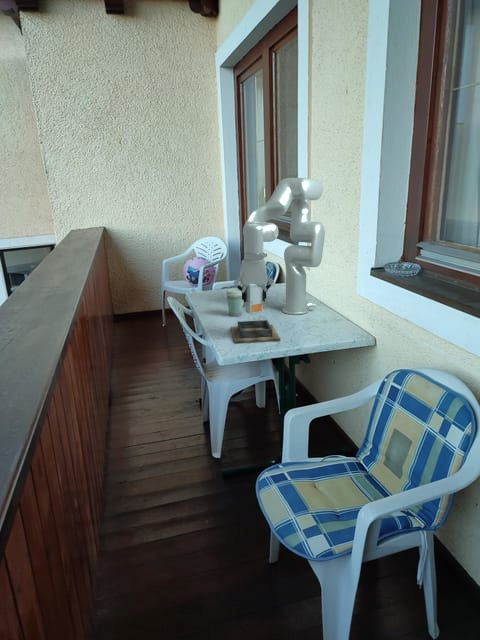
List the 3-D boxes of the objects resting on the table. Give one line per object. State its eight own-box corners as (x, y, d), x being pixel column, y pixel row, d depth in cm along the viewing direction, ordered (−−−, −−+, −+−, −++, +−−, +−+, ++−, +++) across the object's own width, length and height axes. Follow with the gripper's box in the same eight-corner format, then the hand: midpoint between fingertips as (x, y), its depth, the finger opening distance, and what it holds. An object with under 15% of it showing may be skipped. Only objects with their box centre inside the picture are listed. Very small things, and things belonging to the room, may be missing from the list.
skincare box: (250, 314, 175) (249, 285, 171) (245, 311, 179) (244, 282, 175) (263, 312, 178) (263, 283, 174) (258, 309, 181) (257, 281, 178)
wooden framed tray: (272, 326, 191) (272, 317, 189) (280, 341, 173) (280, 331, 172) (230, 328, 189) (230, 320, 188) (234, 343, 172) (234, 333, 171)
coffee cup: (242, 318, 203) (242, 292, 200) (224, 317, 205) (224, 292, 201) (246, 312, 211) (245, 288, 208) (228, 312, 213) (228, 287, 209)
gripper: (274, 254, 176) (273, 297, 181) (230, 256, 174) (231, 299, 179) (277, 257, 169) (277, 302, 174) (232, 259, 167) (233, 304, 172)
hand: (254, 300), depth 177 cm, fingers closed on skincare box, 7 cm apart
